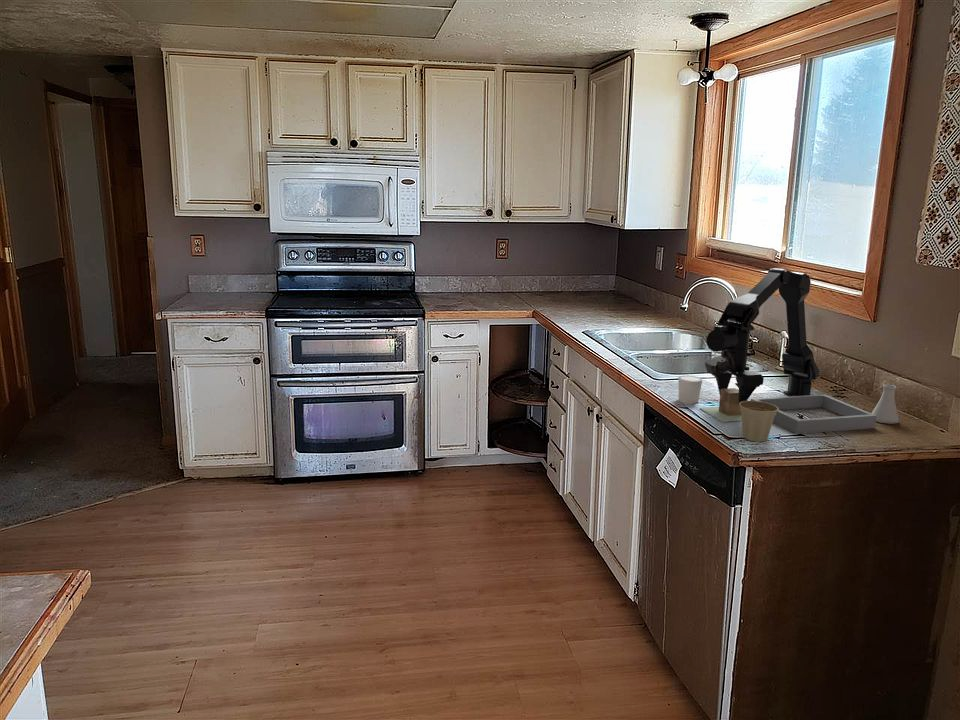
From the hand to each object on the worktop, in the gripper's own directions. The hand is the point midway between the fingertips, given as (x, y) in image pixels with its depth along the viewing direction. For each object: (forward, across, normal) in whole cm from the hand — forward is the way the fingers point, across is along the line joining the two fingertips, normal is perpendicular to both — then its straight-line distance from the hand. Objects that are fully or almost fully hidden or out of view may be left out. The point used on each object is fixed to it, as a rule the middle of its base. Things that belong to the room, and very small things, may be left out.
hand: (731, 401), depth 206 cm
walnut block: (+3, 0, 0) cm, 3 cm away
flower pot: (+4, +19, -5) cm, 20 cm away
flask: (+4, +13, +40) cm, 42 cm away
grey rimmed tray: (+4, +8, +20) cm, 22 cm away
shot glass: (+4, -14, -5) cm, 15 cm away
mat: (+4, 0, 0) cm, 4 cm away
